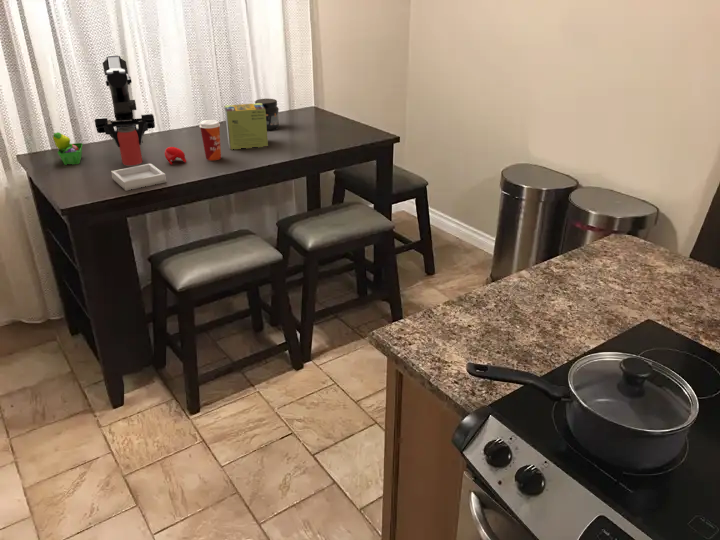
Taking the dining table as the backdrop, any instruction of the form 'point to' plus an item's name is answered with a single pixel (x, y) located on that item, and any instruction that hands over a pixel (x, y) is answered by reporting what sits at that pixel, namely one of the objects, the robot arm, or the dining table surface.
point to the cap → (174, 154)
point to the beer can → (129, 146)
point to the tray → (138, 176)
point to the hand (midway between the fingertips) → (129, 145)
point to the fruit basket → (68, 149)
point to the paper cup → (211, 139)
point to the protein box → (246, 125)
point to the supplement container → (270, 112)
